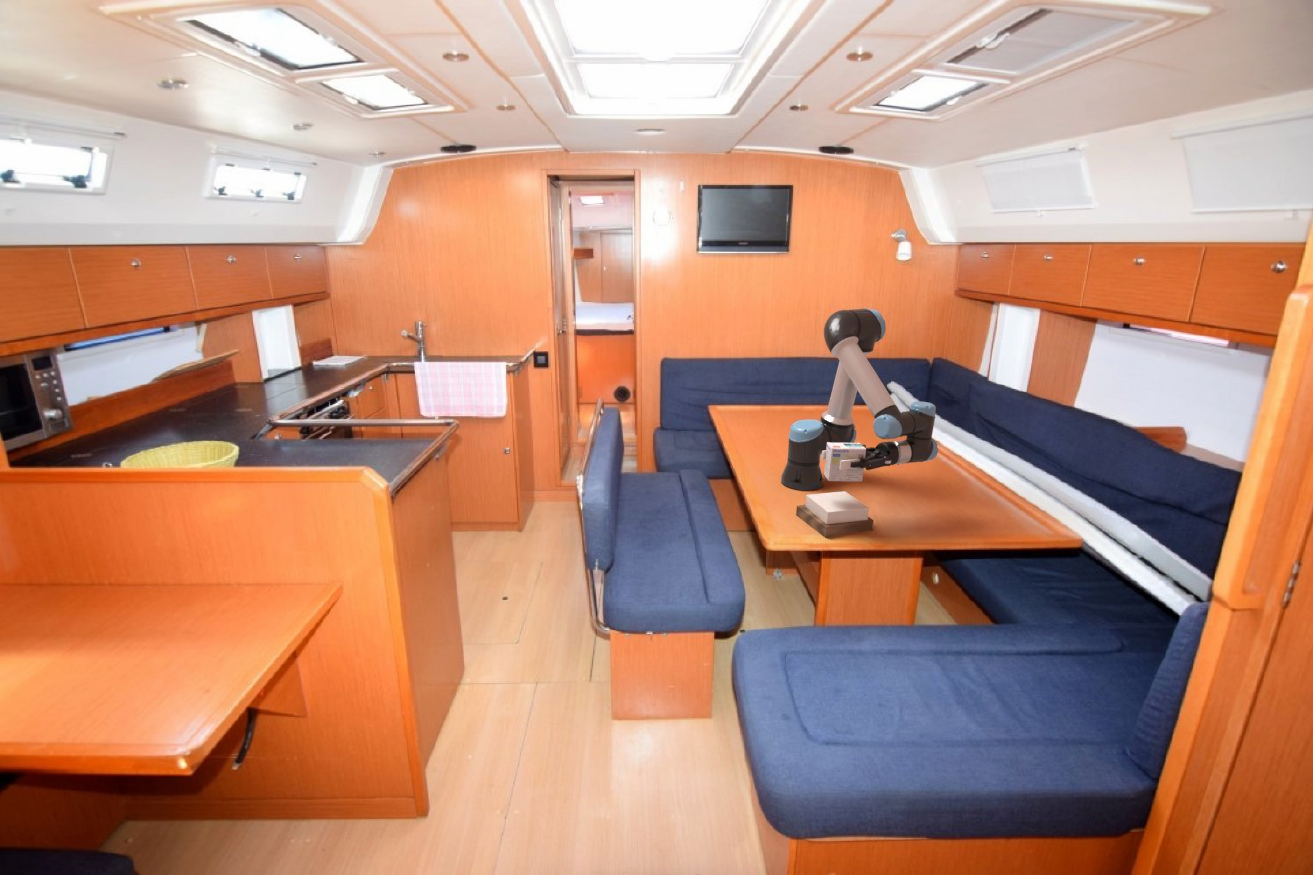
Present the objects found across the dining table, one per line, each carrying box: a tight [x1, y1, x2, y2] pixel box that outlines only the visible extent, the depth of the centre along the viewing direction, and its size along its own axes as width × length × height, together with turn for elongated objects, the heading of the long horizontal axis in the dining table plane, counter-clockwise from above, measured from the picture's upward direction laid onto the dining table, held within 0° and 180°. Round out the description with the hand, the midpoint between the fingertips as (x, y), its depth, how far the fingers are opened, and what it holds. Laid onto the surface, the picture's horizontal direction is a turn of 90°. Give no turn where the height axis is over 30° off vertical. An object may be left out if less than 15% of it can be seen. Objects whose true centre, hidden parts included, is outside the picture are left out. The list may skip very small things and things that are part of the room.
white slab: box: [804, 490, 870, 524], centre depth 195 cm, size 14×14×4 cm
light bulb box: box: [823, 442, 867, 482], centre depth 190 cm, size 11×7×11 cm, turn 90°
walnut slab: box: [795, 504, 874, 539], centre depth 196 cm, size 17×17×4 cm
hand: (831, 460), depth 189 cm, fingers closed on light bulb box, 9 cm apart
